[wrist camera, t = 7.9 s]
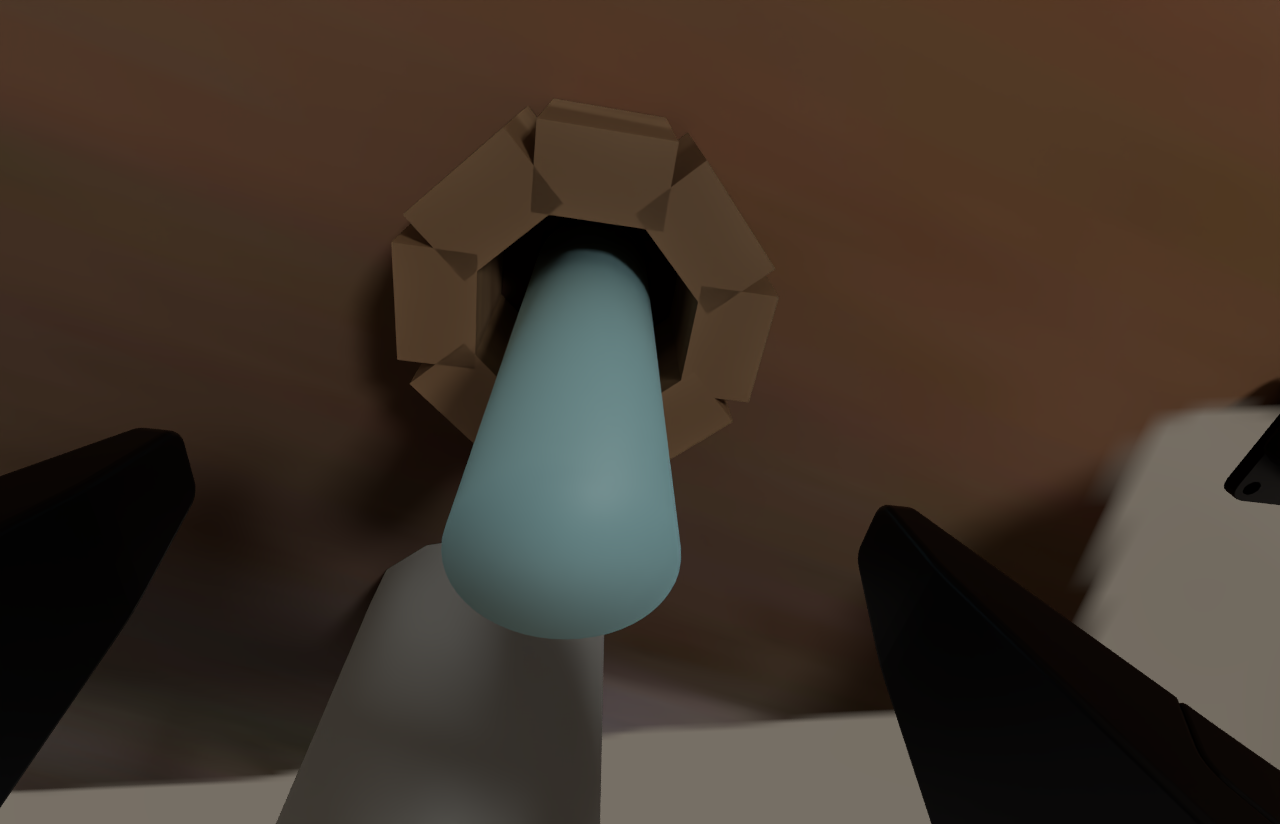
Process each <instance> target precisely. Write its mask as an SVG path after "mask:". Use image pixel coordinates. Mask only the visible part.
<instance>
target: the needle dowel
mask: <svg viewBox="0 0 1280 824" xmlns="http://www.w3.org/2000/svg"><path fill="white" fill-rule="evenodd" d="M441 554H442V562H443V566H444V569H445V573H446V575H447V577H448V579H449V581H450V583H451V585H452V586H453V588H454V589H455V591H456V592H457V594H458V595H459V596H460V597H461V598H462V599H463V600H464V602H465V603H466V604H468V605H469V606H470V607H471V608H472V609H473V610H475V611H476V612H477V613H479V614H480V615H482V616H483V617H485V618H486V619H488V620H490V621H492V622H494V623H495V624H497V625H499V626H502V627H504V628H507V629H509V630H512V631H515V632H518V633H522V634H525V635H530V636H534V637H540V638H548V639H583V638H590V637H596V636H600V635H605V634H609V633H612V632H615V631H618V630H620V629H623V628H625V627H627V626H629V625H632V624H634V623H635V622H637V621H639V620H640V619H642V618H644V617H645V616H646V615H648V614H649V613H650V612H652V611H653V610H654V609H655V608H656V607H657V606H658V605H659V604H660V603H661V602H662V601H663V600H664V599H665V598H666V596H667V595H668V594H669V592H670V591H671V589H672V587H673V585H674V583H675V581H676V578H677V576H678V573H679V568H680V563H681V547H680V539H679V531H678V523H677V515H676V507H675V498H674V490H673V482H672V474H671V466H670V458H669V450H668V441H667V433H666V425H665V417H664V409H663V401H662V393H661V384H660V376H659V368H658V360H657V352H656V344H655V336H654V328H653V319H652V311H651V303H650V295H649V287H648V279H647V271H646V264H645V260H644V257H643V254H642V252H641V250H640V248H639V246H638V245H637V243H636V242H635V240H634V239H633V238H632V237H631V236H630V235H629V234H628V233H627V232H626V231H624V230H623V229H621V228H620V227H618V226H616V225H614V224H608V223H601V222H595V221H588V220H577V221H573V222H570V223H568V224H566V225H564V226H562V227H560V228H559V229H557V230H556V231H555V232H553V233H552V234H551V235H550V236H549V238H548V239H547V240H546V241H545V243H544V244H543V246H542V248H541V250H540V252H539V255H538V258H537V261H536V264H535V267H534V270H533V273H532V275H531V278H530V281H529V284H528V287H527V290H526V293H525V296H524V299H523V302H522V305H521V308H520V310H519V313H518V316H517V319H516V322H515V325H514V328H513V331H512V334H511V337H510V340H509V343H508V345H507V348H506V351H505V354H504V357H503V360H502V363H501V366H500V369H499V372H498V375H497V378H496V380H495V383H494V386H493V389H492V392H491V395H490V398H489V401H488V404H487V407H486V410H485V413H484V415H483V418H482V421H481V424H480V427H479V430H478V433H477V436H476V439H475V442H474V445H473V448H472V450H471V453H470V456H469V459H468V462H467V465H466V468H465V471H464V474H463V477H462V480H461V483H460V485H459V488H458V491H457V494H456V497H455V500H454V503H453V506H452V509H451V512H450V515H449V518H448V520H447V523H446V526H445V530H444V533H443V537H442V546H441Z"/></svg>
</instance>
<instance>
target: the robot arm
mask: <svg viewBox="0 0 1280 824" xmlns="http://www.w3.org/2000/svg"><path fill="white" fill-rule="evenodd" d="M1224 489H1225V490H1226V491H1227V492H1228V493H1230V494H1231V495H1232V496H1233V497H1235V498H1236V499H1238V500H1241V501H1250V502H1258V503H1267V504H1276V505H1280V414H1279V416H1278V417H1277V418H1276V419H1275V420H1274V422H1273V423H1272V424H1271V425H1270V427H1269V428H1268V429H1267V430H1266V432H1265V433H1264V434H1263V435H1262V437H1261V438H1260V439H1259V440H1258V442H1257V443H1256V444H1255V445H1254V446H1253V448H1252V449H1251V450H1250V451H1249V453H1248V454H1247V455H1246V456H1245V457H1244V459H1243V460H1242V461H1241V462H1240V464H1239V465H1238V466H1237V467H1236V468H1235V470H1234V471H1233V472H1232V473H1231V475H1230V476H1229V477H1228V478H1227V480H1226V482H1225V484H1224ZM194 496H195V482H194V478H193V474H192V471H191V467H190V463H189V459H188V456H187V452H186V448H185V445H184V442H183V439H182V438H181V436H180V435H179V434H178V433H176V432H174V431H169V430H160V429H150V428H136V429H132V430H130V431H127V432H124V433H121V434H118V435H115V436H113V437H110V438H107V439H104V440H101V441H98V442H96V443H93V444H90V445H87V446H84V447H82V448H79V449H76V450H73V451H70V452H67V453H65V454H62V455H59V456H56V457H53V458H50V459H48V460H45V461H42V462H39V463H36V464H33V465H31V466H28V467H25V468H22V469H19V470H16V471H14V472H11V473H8V474H5V475H2V476H0V807H1V806H2V804H3V803H4V801H5V800H6V799H7V797H8V796H9V794H10V793H11V791H12V790H13V788H14V787H15V785H16V784H17V782H18V781H19V780H20V778H21V777H22V775H23V774H24V772H25V771H26V769H27V768H28V766H29V765H30V763H31V762H32V761H33V759H34V758H35V756H36V755H37V753H38V752H39V750H40V749H41V747H42V746H43V744H44V743H45V742H46V740H47V739H48V737H49V736H50V734H51V733H52V731H53V730H54V728H55V727H56V725H57V724H58V723H59V721H60V720H61V718H62V717H63V715H64V714H65V712H66V711H67V709H68V708H69V706H70V705H71V704H72V702H73V701H74V699H75V698H76V696H77V695H78V693H79V692H80V690H81V689H82V687H83V686H84V685H85V683H86V682H87V680H88V679H89V677H90V676H91V674H92V673H93V671H94V670H95V668H96V667H97V666H98V664H99V663H100V661H101V660H102V658H103V657H104V655H105V654H106V652H107V651H108V649H109V648H110V647H111V645H112V644H113V642H114V641H115V639H116V638H117V636H118V635H119V633H120V632H121V630H122V629H123V627H124V626H125V624H126V623H127V621H128V620H129V618H130V616H131V615H132V613H133V612H134V610H135V608H136V607H137V605H138V603H139V601H140V600H141V598H142V596H143V595H144V593H145V591H146V589H147V587H148V585H149V583H150V582H151V580H152V578H153V576H154V574H155V572H156V570H157V569H158V567H159V565H160V563H161V561H162V559H163V557H164V555H165V554H166V552H167V550H168V548H169V546H170V544H171V542H172V541H173V539H174V537H175V535H176V533H177V531H178V529H179V528H180V526H181V524H182V522H183V520H184V518H185V516H186V514H187V513H188V511H189V509H190V507H191V505H192V503H193V500H194ZM858 565H859V570H860V575H861V580H862V585H863V589H864V594H865V599H866V603H867V608H868V613H869V617H870V622H871V627H872V632H873V636H874V641H875V646H876V650H877V654H878V658H879V662H880V666H881V670H882V673H883V676H884V680H885V683H886V686H887V689H888V692H889V695H890V698H891V702H892V705H893V708H894V711H895V714H896V717H897V720H898V723H899V726H900V729H901V732H902V735H903V738H904V741H905V744H906V747H907V750H908V753H909V757H910V760H911V763H912V766H913V769H914V772H915V775H916V778H917V781H918V784H919V787H920V790H921V793H922V796H923V799H924V802H925V805H926V809H927V811H928V815H929V818H930V821H931V824H1280V770H1278V769H1277V768H1275V767H1274V766H1273V765H1271V764H1270V763H1268V762H1267V761H1265V760H1264V759H1263V758H1261V757H1260V756H1258V755H1257V754H1255V753H1254V752H1252V751H1251V750H1250V749H1248V748H1247V747H1245V746H1244V745H1242V744H1241V743H1240V742H1238V741H1237V740H1235V739H1234V738H1232V737H1231V736H1230V735H1228V734H1227V733H1225V732H1224V731H1223V730H1221V729H1220V728H1218V727H1217V726H1216V725H1214V724H1213V723H1211V722H1210V721H1209V720H1207V719H1206V718H1205V717H1203V716H1202V715H1200V714H1199V713H1198V712H1196V711H1195V710H1193V709H1192V708H1191V707H1189V706H1188V705H1186V704H1184V703H1179V702H1178V699H1177V698H1176V697H1175V696H1174V695H1172V694H1171V693H1170V692H1168V691H1167V690H1165V689H1164V688H1163V687H1161V686H1160V685H1158V684H1157V683H1156V682H1154V681H1153V680H1151V679H1150V678H1149V677H1147V676H1146V675H1144V674H1143V673H1142V672H1140V671H1139V670H1137V669H1136V668H1135V667H1133V666H1132V665H1130V664H1129V663H1128V662H1126V661H1125V660H1124V659H1122V658H1121V657H1119V656H1118V655H1117V654H1115V653H1114V652H1112V651H1111V650H1110V649H1108V648H1107V647H1105V646H1104V645H1103V644H1101V643H1100V642H1099V641H1097V640H1096V639H1094V638H1093V637H1092V636H1090V635H1089V634H1087V633H1086V632H1085V631H1083V630H1082V629H1080V628H1079V627H1078V626H1076V625H1075V624H1073V623H1072V622H1071V621H1069V620H1068V619H1066V618H1065V617H1064V616H1062V615H1061V614H1060V613H1058V612H1057V611H1055V610H1054V609H1053V608H1051V607H1050V606H1048V605H1047V604H1046V603H1044V602H1043V601H1041V600H1040V599H1039V598H1037V597H1036V596H1034V595H1033V594H1032V593H1030V592H1029V591H1028V590H1026V589H1025V588H1023V587H1022V586H1021V585H1019V584H1018V583H1016V582H1015V581H1014V580H1012V579H1011V578H1009V577H1008V576H1007V575H1005V574H1004V573H1002V572H1001V571H1000V570H998V569H997V568H995V567H994V566H993V565H991V564H990V563H989V562H987V561H986V560H984V559H983V558H982V557H980V556H979V555H977V554H976V553H975V552H973V551H972V550H970V549H969V548H968V547H966V546H965V545H963V544H962V543H961V542H959V541H958V540H957V539H955V538H954V537H952V536H951V535H950V534H948V533H947V532H945V531H944V530H943V529H941V528H940V527H938V526H937V525H936V524H934V523H933V522H931V521H930V520H929V519H927V518H926V517H925V516H923V515H922V514H920V513H919V512H918V511H916V510H915V509H913V508H910V507H902V506H892V505H885V506H882V507H880V508H879V509H878V510H877V512H876V514H875V516H874V518H873V520H872V522H871V524H870V527H869V529H868V531H867V533H866V535H865V537H864V540H863V542H862V544H861V546H860V549H859V553H858Z"/></svg>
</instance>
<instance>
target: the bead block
mask: <svg viewBox="0 0 1280 824" xmlns="http://www.w3.org/2000/svg"><path fill="white" fill-rule="evenodd" d="M548 215H555V216H561V217H568V218H575V219H581V220H588V221H595V222H601V223H608V224H615V225H621V226H628V227H635V228H641V229H646V231H647V232H648V233H649V235H650V236H651V237H652V239H653V240H654V242H655V243H656V244H657V246H658V247H659V248H660V250H661V251H662V253H663V254H664V255H665V257H666V258H667V260H668V261H669V262H670V264H671V265H672V266H673V268H674V269H675V271H676V272H677V273H678V276H677V281H676V286H675V291H674V296H673V301H672V306H671V312H670V317H668V318H667V319H665V320H664V321H662V322H661V323H660V324H658V325H657V326H655V327H654V336H655V344H656V352H657V360H658V368H659V376H660V384H661V393H662V401H663V409H664V417H665V425H666V433H667V441H668V450H669V458H670V459H672V458H673V457H675V456H677V455H678V454H680V453H682V452H683V451H685V450H687V449H688V448H690V447H692V446H693V445H695V444H697V443H698V442H700V441H702V440H704V439H705V438H707V437H709V436H710V435H712V434H714V433H715V432H717V431H719V430H720V429H722V428H724V427H725V426H727V425H729V424H730V423H732V422H733V420H732V417H731V414H730V410H729V407H728V404H727V400H734V401H742V402H749V399H750V396H751V393H752V389H753V386H754V382H755V379H756V375H757V372H758V368H759V365H760V361H761V358H762V354H763V351H764V347H765V344H766V340H767V337H768V334H769V330H770V327H771V323H772V320H773V316H774V313H775V309H776V306H777V302H778V299H779V296H778V294H777V293H776V291H775V289H774V288H773V286H772V284H771V283H770V281H769V280H768V278H767V276H766V275H767V274H769V273H770V272H772V271H773V270H775V268H774V266H773V265H772V263H771V261H770V260H769V258H768V257H767V255H766V253H765V252H764V250H763V249H762V247H761V246H760V244H759V242H758V241H757V239H756V238H755V236H754V234H753V233H752V231H751V230H750V228H749V227H748V225H747V223H746V222H745V220H744V219H743V217H742V215H741V214H740V212H739V211H738V209H737V208H736V206H735V204H734V203H733V201H732V200H731V198H730V196H729V195H728V193H727V192H726V190H725V189H724V187H723V185H722V184H721V182H720V181H719V179H718V177H717V176H716V174H715V173H714V171H713V170H712V168H711V166H710V165H709V163H708V162H707V160H706V159H705V157H704V156H703V154H702V153H701V151H700V150H699V148H698V147H697V145H696V144H695V142H694V141H693V139H692V138H691V137H690V135H689V134H688V133H687V134H685V135H684V136H683V137H681V138H680V139H679V140H678V139H677V137H676V136H675V134H674V132H673V130H672V128H671V126H670V125H669V123H668V121H667V119H666V117H660V116H654V115H648V114H642V113H636V112H630V111H625V110H619V109H613V108H607V107H601V106H595V105H589V104H583V103H578V102H572V101H566V100H560V99H553V100H552V101H551V102H550V104H549V105H548V106H547V107H546V108H545V109H544V110H543V111H542V113H541V114H540V115H539V116H538V117H536V116H535V114H534V113H533V112H532V110H531V109H530V108H529V106H527V107H526V108H525V109H524V110H522V111H521V112H520V113H519V114H518V115H517V116H515V117H514V118H513V119H512V120H511V121H510V122H509V123H507V124H506V125H505V126H504V127H503V128H502V129H500V130H499V131H498V132H497V133H496V134H495V135H494V136H492V137H491V138H490V139H489V140H488V141H487V142H485V143H484V144H483V145H482V146H481V147H480V148H479V149H477V150H476V151H475V152H474V153H473V154H472V155H470V156H469V157H468V158H467V159H466V160H465V161H464V162H462V163H461V164H460V165H459V166H458V167H457V168H455V169H454V170H453V171H452V172H451V173H450V174H449V175H447V176H446V177H445V178H444V179H443V180H442V181H441V182H439V183H438V184H437V185H436V186H435V187H434V188H433V189H431V190H430V191H429V192H428V193H427V194H426V195H425V196H423V197H422V198H421V199H420V200H419V201H418V202H417V203H415V204H414V205H413V206H412V207H411V208H410V209H409V210H407V211H406V212H405V213H404V214H403V216H404V217H405V218H406V219H407V220H408V221H409V222H410V223H411V224H410V225H409V226H408V227H407V228H406V229H405V230H404V231H403V232H402V233H401V234H399V235H398V236H397V237H396V238H395V239H394V240H393V241H392V242H391V246H392V266H393V285H394V305H395V325H396V345H397V360H404V361H412V362H420V363H421V365H420V367H419V368H418V370H417V372H416V373H415V375H414V377H413V379H412V380H411V382H410V385H411V386H412V387H413V388H414V389H415V390H417V391H418V392H419V393H420V394H421V395H422V396H423V397H424V398H425V399H426V400H427V401H428V402H429V403H431V404H432V405H433V406H434V407H435V408H436V409H437V410H438V411H439V412H440V413H441V414H442V415H443V416H445V417H446V418H447V419H448V420H449V421H450V422H451V423H452V424H453V425H454V426H455V427H456V428H457V429H459V430H460V431H461V432H462V433H463V434H464V435H465V436H466V437H467V438H468V439H469V440H470V441H471V442H473V443H474V442H475V439H476V436H477V433H478V430H479V427H480V424H481V421H482V418H483V415H484V413H485V410H486V407H487V404H488V401H489V398H490V395H491V392H492V389H493V386H494V383H495V380H496V378H497V375H498V372H499V369H500V366H501V363H502V360H503V357H504V354H505V351H506V348H507V345H508V343H509V340H510V337H511V334H512V331H513V328H514V325H515V322H516V319H517V316H518V312H517V311H516V310H515V309H514V307H513V306H512V305H511V304H510V303H509V302H508V301H507V300H506V299H505V297H504V296H503V295H502V294H501V293H502V270H503V251H504V250H505V249H506V248H507V247H509V246H510V245H511V244H512V243H514V242H515V241H516V240H517V239H519V238H520V237H521V236H522V235H524V234H525V233H526V232H528V231H529V230H530V229H531V228H533V227H534V226H535V225H536V224H538V223H539V222H540V221H541V220H543V219H544V218H545V217H547V216H548Z"/></svg>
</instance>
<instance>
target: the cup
mask: <svg viewBox="0 0 1280 824" xmlns="http://www.w3.org/2000/svg"><path fill="white" fill-rule="evenodd" d="M441 546H442V543H440V544H433V545H426V546H425V547H423V548H422V549H420V550H418V551H417V552H415V553H413V554H412V555H410V556H408V557H407V558H405V559H404V560H402V561H400V562H399V563H397V564H395V565H394V566H392V567H390V568H389V569H387V570H386V572H385V574H384V576H383V578H382V580H381V582H380V584H379V586H378V588H377V591H376V593H375V595H374V597H373V599H372V601H371V603H370V605H369V608H368V610H367V612H366V615H365V617H364V619H363V622H362V624H361V626H360V629H359V631H358V633H357V636H356V638H355V640H354V643H353V645H352V647H351V650H350V652H349V654H348V657H347V659H346V661H345V664H344V666H343V668H342V671H341V673H340V675H339V678H338V680H337V682H336V685H335V687H334V689H333V692H332V694H331V696H330V699H329V701H328V703H327V706H326V708H325V710H324V713H323V715H322V717H321V720H320V722H319V724H318V727H317V729H316V731H315V734H314V736H313V738H312V741H311V743H310V745H309V748H308V750H307V752H306V755H305V757H304V759H303V762H302V764H301V766H300V769H299V771H298V774H297V776H296V778H295V781H294V783H293V785H292V788H291V790H290V793H289V795H288V797H287V799H286V802H285V804H284V806H283V809H282V811H281V813H280V816H279V818H278V820H277V823H276V824H600V796H601V750H602V748H601V747H602V703H603V656H604V635H600V636H596V637H590V638H583V639H548V638H540V637H534V636H530V635H525V634H522V633H518V632H515V631H512V630H509V629H507V628H504V627H502V626H499V625H497V624H495V623H494V622H492V621H490V620H488V619H486V618H485V617H483V616H482V615H480V614H479V613H477V612H476V611H475V610H473V609H472V608H471V607H470V606H469V605H468V604H466V603H465V602H464V600H463V599H462V598H461V597H460V596H459V595H458V594H457V592H456V591H455V589H454V588H453V586H452V585H451V583H450V581H449V579H448V577H447V575H446V573H445V569H444V566H443V562H442V554H441Z"/></svg>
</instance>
